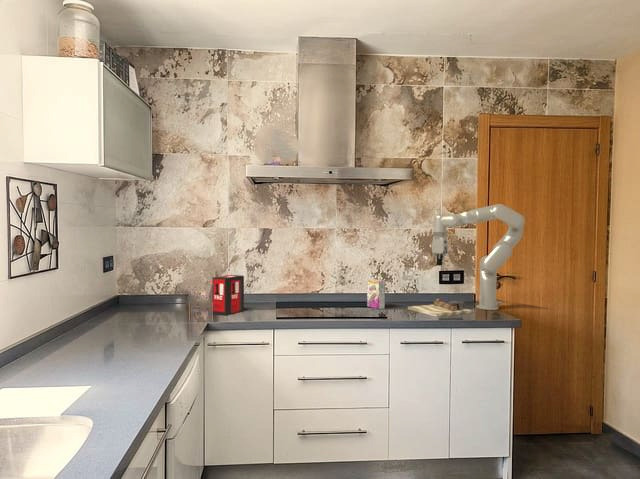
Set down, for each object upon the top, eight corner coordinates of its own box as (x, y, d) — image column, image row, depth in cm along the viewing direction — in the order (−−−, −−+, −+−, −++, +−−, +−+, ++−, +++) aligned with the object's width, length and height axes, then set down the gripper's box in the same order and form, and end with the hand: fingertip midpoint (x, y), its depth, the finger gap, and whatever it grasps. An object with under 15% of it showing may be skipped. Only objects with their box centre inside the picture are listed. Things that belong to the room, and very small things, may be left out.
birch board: (441, 306, 301) (441, 303, 301) (472, 312, 279) (472, 310, 279) (407, 309, 289) (407, 306, 288) (436, 316, 266) (436, 313, 266)
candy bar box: (366, 306, 296) (366, 279, 296) (372, 306, 299) (373, 279, 299) (378, 309, 287) (379, 281, 286) (385, 308, 290) (385, 280, 289)
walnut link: (432, 304, 295) (432, 298, 295) (439, 304, 297) (439, 298, 296) (450, 310, 276) (451, 303, 275) (458, 310, 277) (458, 303, 277)
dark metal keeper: (458, 308, 284) (458, 300, 284) (463, 309, 280) (464, 301, 280) (447, 309, 280) (447, 301, 280) (452, 310, 276) (452, 302, 276)
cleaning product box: (225, 315, 262) (225, 278, 261) (212, 314, 266) (212, 277, 265) (243, 311, 277) (243, 275, 276) (230, 309, 280) (230, 274, 280)
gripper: (453, 235, 294) (452, 266, 295) (436, 234, 307) (435, 264, 308) (443, 235, 291) (443, 266, 291) (426, 234, 304) (426, 264, 304)
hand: (439, 265), depth 300 cm, fingers closed
